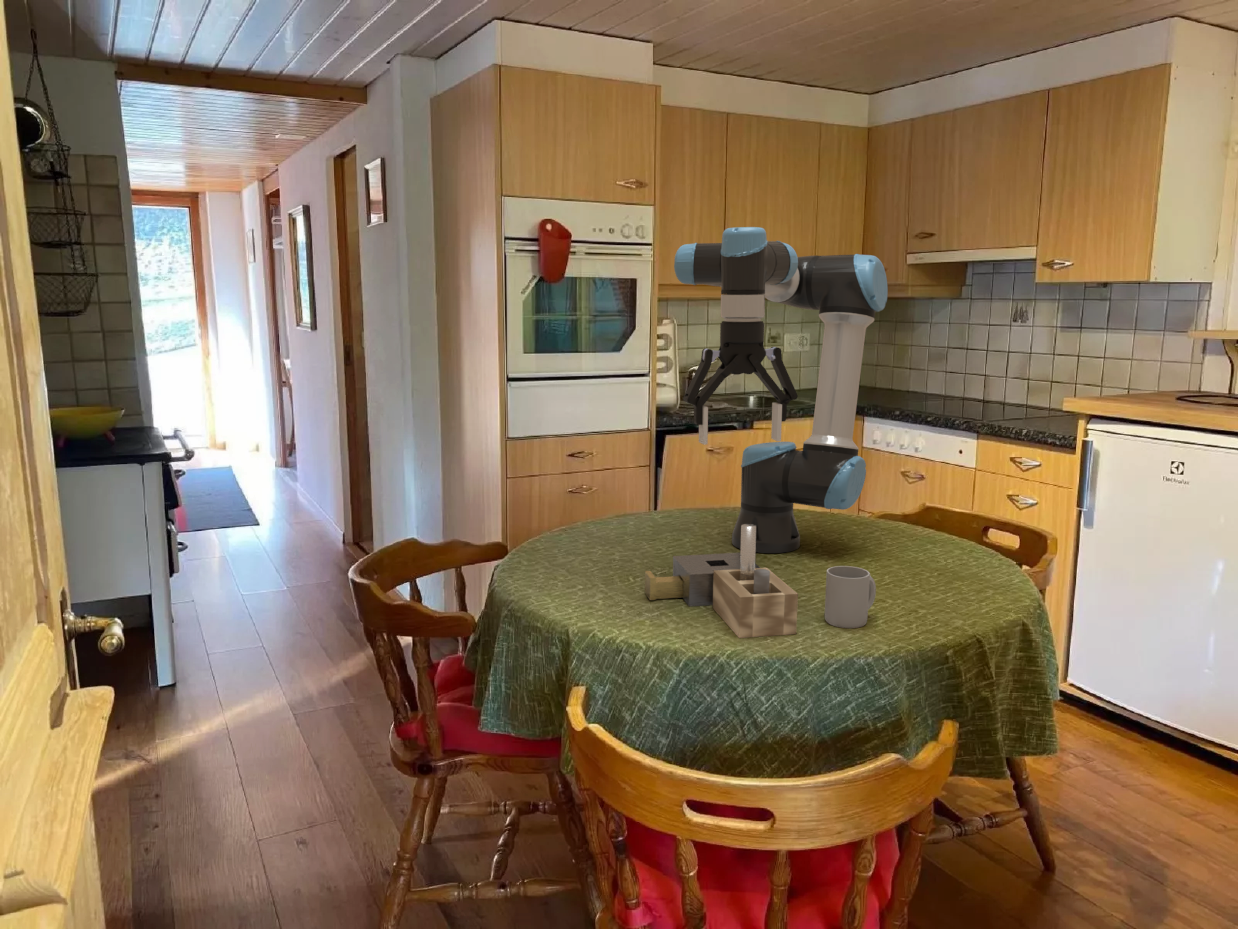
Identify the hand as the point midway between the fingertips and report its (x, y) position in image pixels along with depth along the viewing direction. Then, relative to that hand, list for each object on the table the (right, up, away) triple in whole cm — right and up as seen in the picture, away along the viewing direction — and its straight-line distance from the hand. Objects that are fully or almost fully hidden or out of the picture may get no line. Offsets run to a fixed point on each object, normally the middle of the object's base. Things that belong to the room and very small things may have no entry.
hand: (739, 441), depth 163 cm
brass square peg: (-11, -29, +10) cm, 32 cm away
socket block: (-3, -28, +12) cm, 31 cm away
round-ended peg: (+1, -30, +1) cm, 31 cm away
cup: (+19, -31, -2) cm, 37 cm away
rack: (+2, -31, -2) cm, 31 cm away
